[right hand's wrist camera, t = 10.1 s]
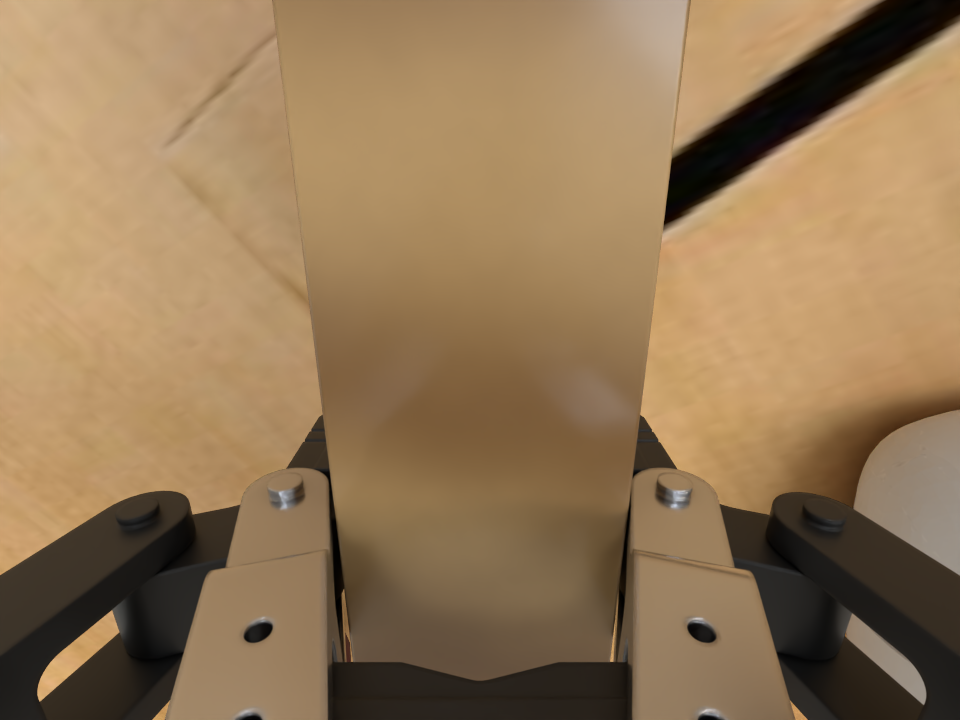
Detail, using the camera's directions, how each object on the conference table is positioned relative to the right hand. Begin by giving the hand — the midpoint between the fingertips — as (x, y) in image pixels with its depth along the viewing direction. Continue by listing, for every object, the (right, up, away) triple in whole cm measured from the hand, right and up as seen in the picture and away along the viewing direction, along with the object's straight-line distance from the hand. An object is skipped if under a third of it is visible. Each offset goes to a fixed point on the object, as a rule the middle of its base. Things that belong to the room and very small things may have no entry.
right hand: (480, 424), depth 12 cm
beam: (0, +29, -8) cm, 30 cm away
